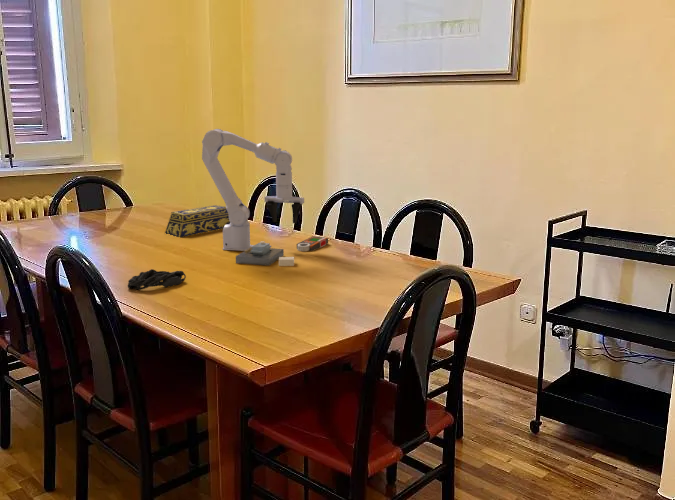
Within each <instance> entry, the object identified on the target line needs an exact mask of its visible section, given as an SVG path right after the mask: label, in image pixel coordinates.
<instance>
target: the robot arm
mask: <svg viewBox="0 0 675 500" xmlns="http://www.w3.org/2000/svg"><path fill="white" fill-rule="evenodd" d="M202 138H203V139H202V140H201V143H202V147H201V148H202V149H201V150H202V151H201V160H202V162H203V163H204V165H205V167H206V169H207V172H208V173H209V175H210V177H211V179H212V181H213V183H214V184H215V186H216V188H217V190H218V192H219V194H220V196H221V198H222V200H223V201H224V203H225V207H226V209H227V211H228V214H229V221H230V224H226V225H225V226H224V228H223V229H222V245H223V247H222V250H223V251H237V252H238V251H239V252H240V251H241V252H244V251H245V250H247V249H248V248H251V247H252V246H254V245H255V244H251V231H250V230H251V229H250V227H251V226H250V221H248V219H249V218H250V215H251V212H250V208H249V207H248V206H246V205H245V204H244V203H243V201H242V200H241V199H240V198H239V196H238V195H237V193H236V191H235V188H234V187H233V186H232V184H231V181H230V179H229V178H228V175H227V173H226V172H225V170H224V168H223V166H222V165H221V162H220V161H219V159H218V157H219V154H220V150H221V149H222V148H223V147H225V146H231V145H233V146H235V147H237V148H241V149H243V150H246V151H250V152H252V153H254V155H255V157H256V158H258V159H259V160H262V161H265V162H267V163H270V164H274V165H275V167H276V168H275V169H276V171H275V192H276V193H275V194H276V195H271V196H270V195H269V196H268V195H266V196H264V203H266V206H267V209H268V210H269V212H270V216H271V219H272V223H276V222H277V221H278V216H277V214H278V213H277V212H278V211H277V209H278V203H280V204H282V203H285V204H291V211H292V224H296V223H297V221H298V216H299V213H300V210H301V208H302V205H303V204H305V197H300V196H299V197H298V196H293V172H292V169H293V168H292V165H291V164H292V161H293V156H292V154H291V153H290V152H289V151H287V150H284V149H283V150H282V148H280V147H278V148H277V147H275V146H272V145H270V142H267V141H265V142H259V143H256V142H253V141H251V140H249V139H246V138H245V137H242V136H239V135H238V134H236V133H233V132H230V131H227V130H223V129H221V128H215V129H211V130H208V131H207V132H206V133H205V134H204V135H203V137H202Z"/></svg>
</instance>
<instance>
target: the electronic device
mask: <svg viewBox="0 0 675 500" xmlns="http://www.w3.org/2000/svg"><path fill="white" fill-rule="evenodd" d="M328 244H329V238H328V237H322V236H316V235H315V236H313V235H312V236H310V237H308V238H306V239H304V240H301V241H300V242H298V243H296V250H297V251H299V252H308V251H311V252H313V251H316V250H318V249H320V248H323V247H325V246H327V245H328Z"/></svg>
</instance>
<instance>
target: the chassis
mask: <svg viewBox="0 0 675 500" xmlns="http://www.w3.org/2000/svg"><path fill="white" fill-rule="evenodd" d="M251 250H252V247H251V248H248V249H247V250H245V251H241V252H240V253H238V254H236V255H235V264H241V265H242V264H244V265H255V266H256V265H259V266H271V265H273V264H274V263H275V262H276V261H279V257H285V253H284V250H285V249H284V248H275V247H274V248H272V247H271V248H270V252H269V253H267V254H266V255H258V254H252V252H251Z"/></svg>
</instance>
